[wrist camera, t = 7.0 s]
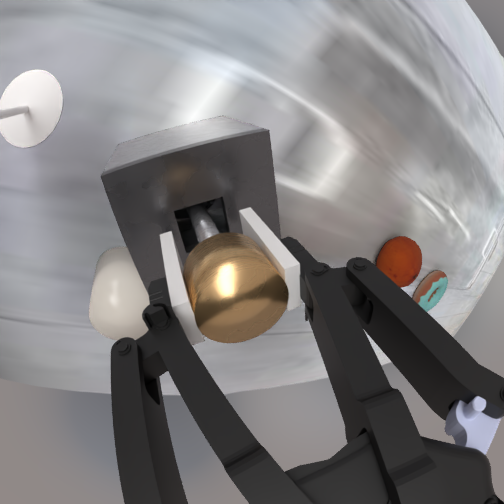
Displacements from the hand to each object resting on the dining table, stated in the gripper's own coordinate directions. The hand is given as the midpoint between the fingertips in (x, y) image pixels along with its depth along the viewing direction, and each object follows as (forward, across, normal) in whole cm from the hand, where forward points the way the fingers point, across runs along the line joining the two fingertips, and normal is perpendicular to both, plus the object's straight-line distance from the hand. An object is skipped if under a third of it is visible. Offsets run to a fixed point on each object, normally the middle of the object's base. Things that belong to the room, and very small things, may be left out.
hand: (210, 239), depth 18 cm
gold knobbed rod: (+12, 0, 0) cm, 12 cm away
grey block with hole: (+14, 0, 0) cm, 14 cm away
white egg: (+14, -10, -9) cm, 19 cm away
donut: (+14, +49, -39) cm, 64 cm away
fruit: (+14, +31, -21) cm, 40 cm away
